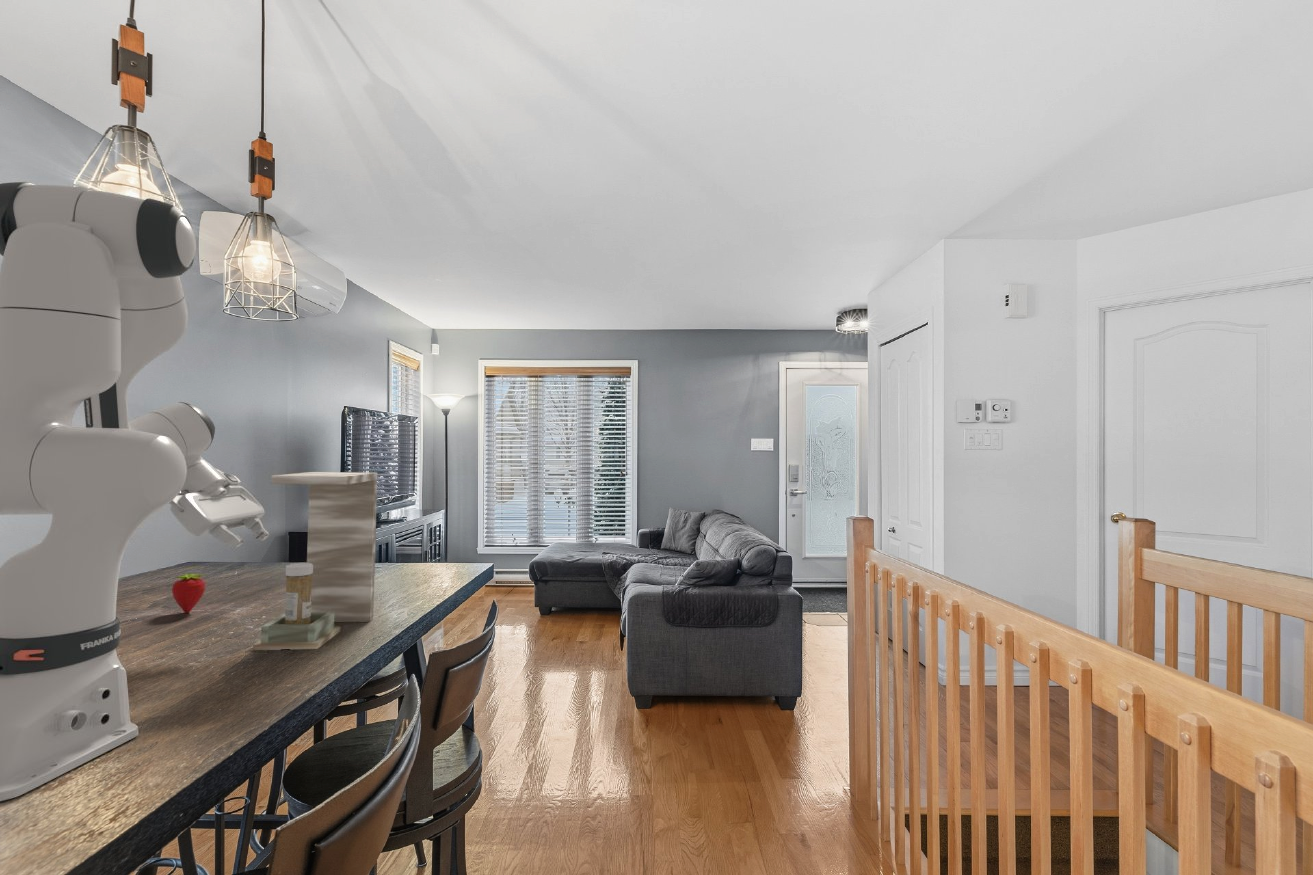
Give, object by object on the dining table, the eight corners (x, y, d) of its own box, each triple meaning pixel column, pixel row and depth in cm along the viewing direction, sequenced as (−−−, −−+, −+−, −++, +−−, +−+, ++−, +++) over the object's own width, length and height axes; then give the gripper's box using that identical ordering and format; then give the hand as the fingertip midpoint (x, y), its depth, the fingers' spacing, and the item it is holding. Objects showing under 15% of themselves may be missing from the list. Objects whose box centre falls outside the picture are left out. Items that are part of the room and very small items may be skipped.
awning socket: (337, 648, 114) (342, 476, 114) (252, 650, 112) (258, 475, 113) (373, 618, 134) (377, 472, 134) (301, 619, 132) (306, 471, 132)
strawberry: (202, 606, 141) (204, 562, 141) (206, 613, 135) (208, 567, 135) (169, 611, 137) (171, 565, 137) (172, 618, 131) (174, 570, 131)
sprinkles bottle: (314, 634, 118) (316, 564, 119) (287, 639, 115) (290, 567, 115) (306, 629, 121) (308, 561, 122) (280, 634, 118) (282, 563, 118)
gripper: (176, 480, 106) (235, 537, 107) (240, 475, 127) (289, 523, 128) (146, 506, 106) (206, 563, 107) (216, 497, 126) (266, 545, 127)
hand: (252, 541), depth 117 cm, fingers open, 8 cm apart
